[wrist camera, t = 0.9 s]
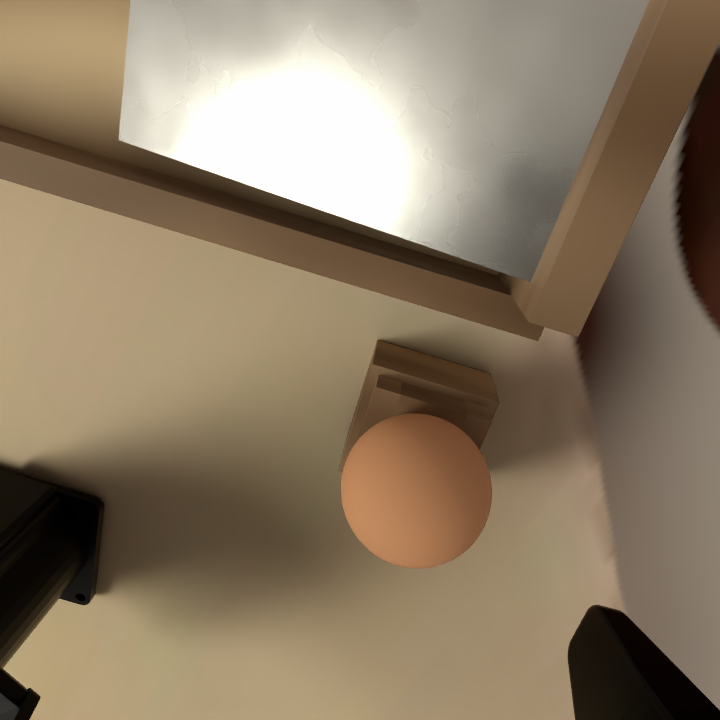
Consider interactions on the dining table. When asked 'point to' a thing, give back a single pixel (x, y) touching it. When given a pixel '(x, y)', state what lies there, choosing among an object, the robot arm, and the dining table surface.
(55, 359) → the dining table surface
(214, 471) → the dining table surface
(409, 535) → the ball
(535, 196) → the chute
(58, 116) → the lane
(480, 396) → the brown square frame
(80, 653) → the dining table surface
